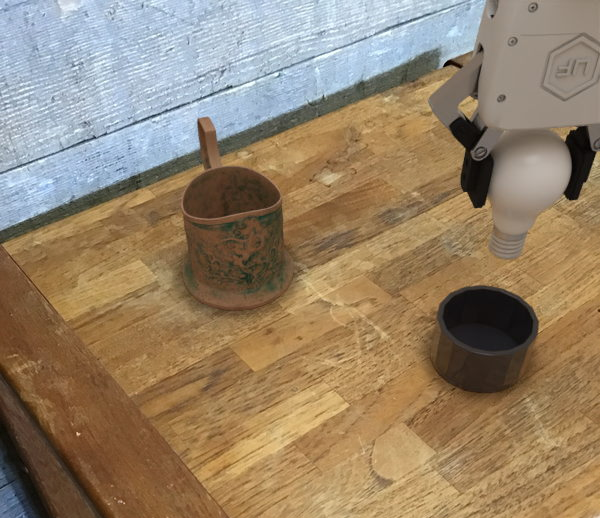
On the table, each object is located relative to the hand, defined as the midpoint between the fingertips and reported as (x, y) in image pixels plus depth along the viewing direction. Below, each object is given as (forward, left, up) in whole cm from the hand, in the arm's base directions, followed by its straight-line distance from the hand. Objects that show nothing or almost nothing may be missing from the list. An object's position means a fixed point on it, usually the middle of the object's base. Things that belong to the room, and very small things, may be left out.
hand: (520, 191), depth 55 cm
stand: (0, 0, -18) cm, 18 cm away
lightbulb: (0, 0, -6) cm, 6 cm away
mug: (+22, -18, -18) cm, 34 cm away
